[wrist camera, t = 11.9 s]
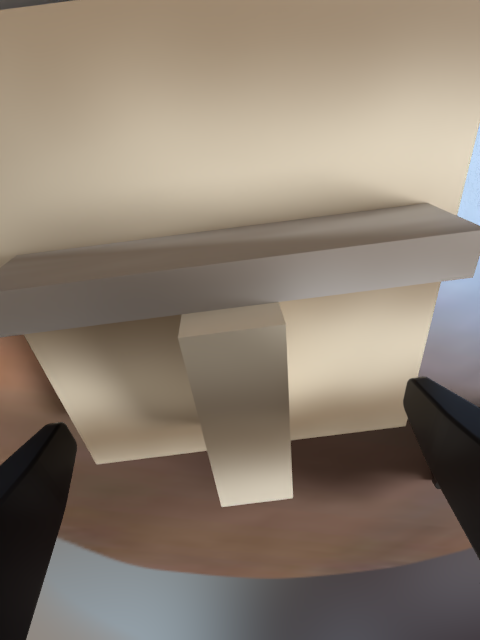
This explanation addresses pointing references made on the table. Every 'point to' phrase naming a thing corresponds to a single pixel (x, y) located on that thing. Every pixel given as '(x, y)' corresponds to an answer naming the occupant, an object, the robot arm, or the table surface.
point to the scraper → (237, 310)
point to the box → (25, 3)
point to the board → (231, 180)
